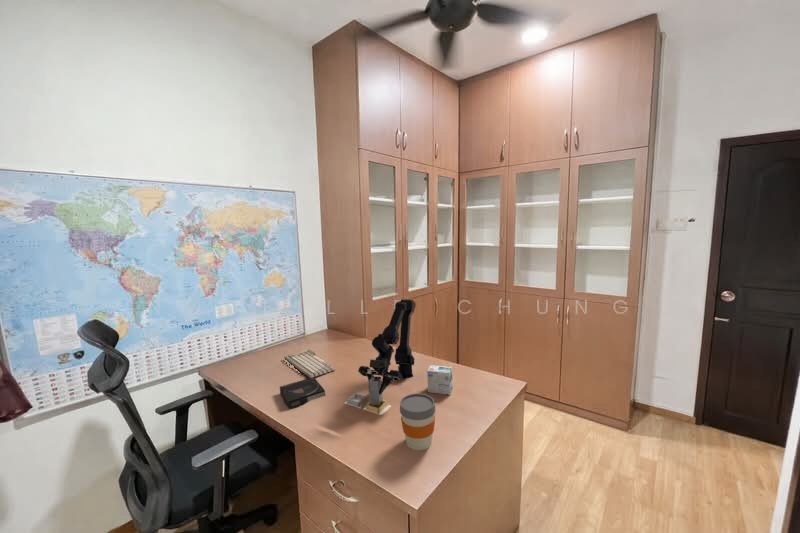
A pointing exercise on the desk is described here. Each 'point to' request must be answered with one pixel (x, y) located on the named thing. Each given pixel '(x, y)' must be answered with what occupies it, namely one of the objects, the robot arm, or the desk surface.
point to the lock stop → (375, 391)
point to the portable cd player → (301, 392)
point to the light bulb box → (440, 379)
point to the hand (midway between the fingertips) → (374, 393)
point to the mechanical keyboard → (309, 364)
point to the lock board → (366, 403)
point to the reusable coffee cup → (418, 420)
